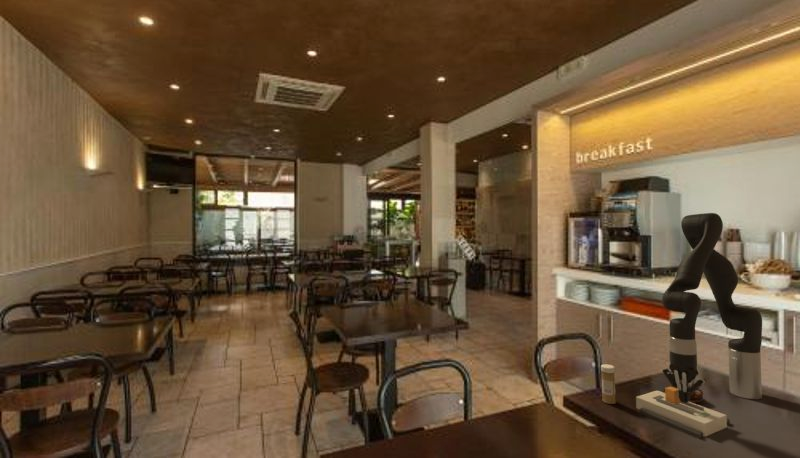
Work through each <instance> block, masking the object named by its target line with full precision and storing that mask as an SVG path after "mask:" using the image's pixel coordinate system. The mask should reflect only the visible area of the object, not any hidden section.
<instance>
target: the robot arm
mask: <svg viewBox="0 0 800 458" xmlns="http://www.w3.org/2000/svg"><path fill="white" fill-rule="evenodd" d="M680 227H681V231H682V233H683V235H684V237H685V240H686V241H687V243H688V244H689V246H690V247H691V249H692V250H691V251H689V253H687V254H686V255H685V256H684V257H683V259H681V261H680V263H679V265H678V267H677V269H676V270H677V271H676V274H675V278H674V279H673V281H671V283H670V285H669V286H668V287H667V289H666V290H665V292H664V293H663V295H662V299H661V303H662V306H663V307H664V308H665V310H667V311H670V312H676V313H677V312H678V313H683V314H684V317H681V318H680V317H678V318H672V319H670V320H669V340H668V341H669V342H668V347H669V352H668V353H669V365H668V367H667V368H664V369H662V373H663V374H664V376H665V377H666V378H667V380H668V381H669V383H670V385H671V384H672V386H673V387H676V388H677V389H678V390H679V399H680V401H681V402H684V403H687V402H689V401H690V392H694V391H695V392H697V391H699V390H698V389H701V388H702V386H703V385H705V384H706V383H707V380H706V379H705V378H702V377H701V376H700V374H699V371H698V351H697V347H698V345H697V341H696V340H697V339H696V322H697V320H698V316H699V312H700V309H701V306H702V300H701V298H700V296H699V295H698V294H697V293H695V292H692V290H693V291H694V290H697V289H698V288H699V287H700V284H701V282H702V277H703V275H704V277H705V280H706V282H707V283H708V286H709V288H710V290H711V292H712V295H713V298H714V301H715V303H716V307H717V309H718V313H719V315H720V319H721V322H722V323H723V325H724V326H725V327H726V328H727V329H730V330H732V331H738V332H742V333H743V337H740V338H732V339H729V340H728V341H727V342H728V372H729V374H728V376H729V378H728V379H729V380H728V382H729V393H731V394H732V395H734V396H737V397H738V398H739V397H740V398H743V399H748V400H760V399H762V398H763V397H762V395H763V391H762V387H763V386H762V362H761V361H762V360H761V359H762V357H761V356H762V355H761V347H762V340H763V339H762V338H763V336H762V335H763V334H762V333H763V318H762V317H763V316H762V314H761V312H760V311H759V310H757V309H755V308H750V307H743V306H737V305H735V303H734V301H733V297H732V296H733V294H734V291H735V290H736V289H737V286H738V284H739V276H738V273H737V271H736V269H735V267H734V265H733V263H732V262H731V261H730V260H729V259H728V258H727V257H726V256H724V255H723V254H722V253H720V252H719V251H718V250H715V247H716V246H717V244H718V241H719V239H720V237H721V235H722V232H723V228H724V224H723V220H722V218H721V216H720V215H719V214H717V213H715V212H707V213H696V214H689V215H685V216H684V217H682V219H681V225H680ZM689 291H690V292H689ZM693 381H694V385H693V386H691V384H692V382H693Z"/></svg>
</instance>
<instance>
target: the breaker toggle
mask: <svg viewBox="0 0 800 458" xmlns="http://www.w3.org/2000/svg"><path fill="white" fill-rule="evenodd" d="M664 389H665V401H668V402H670V403H673V404H679V403H680V399H679V390H678V389H677V388H674V387H671V386H667V387H664Z"/></svg>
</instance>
